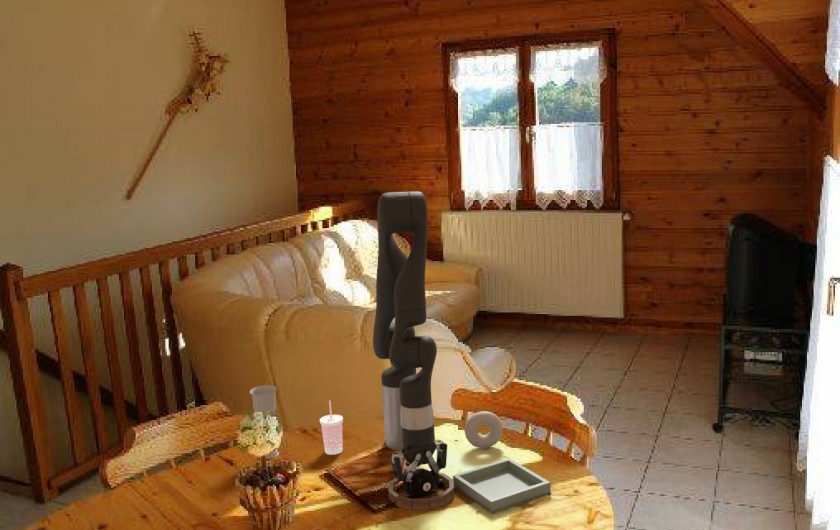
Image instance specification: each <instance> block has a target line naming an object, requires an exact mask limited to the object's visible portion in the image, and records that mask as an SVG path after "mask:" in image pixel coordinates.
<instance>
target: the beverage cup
mask: <svg viewBox="0 0 840 530" xmlns="http://www.w3.org/2000/svg"><path fill="white" fill-rule="evenodd" d="M328 406H329V414H328V415H324V416H322V417H321V418H319V424H320V425H321V433H322V434H321V435H322V439H323V446H324V452H325V454H327V455H330V456H331V455H333V456H334V455H338V454H340V453H342V452H343V449H344V448H343V446H344V445H343V421H344V417H343V415H340V414H332V413H333V412H332V402H331V400H328Z"/></svg>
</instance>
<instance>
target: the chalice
mask: <svg viewBox="0 0 840 530" xmlns="http://www.w3.org/2000/svg"><path fill="white" fill-rule="evenodd" d="M276 391H277V387H276V386H275V385H272V384H271V385H269V384H265V385H264V384H263V385H259V386H255V387H253V388H251V389H250V390H249V393H250V395H251V398H252V408H253V412H254V413H255V412H266V411H269V410H271V411H273V413H274V415H275V413H276V409H277V401H276ZM279 455H280V452H279V451H278V449H277V448H276V450H275V451H273V452H272V453H270V454H269V455H268V456H267V459H266V460H270V459H274V458H277V457H278V456H279Z"/></svg>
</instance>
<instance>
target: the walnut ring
mask: <svg viewBox="0 0 840 530" xmlns="http://www.w3.org/2000/svg"><path fill="white" fill-rule="evenodd" d="M439 479H442V480H443V481H444V484H445V486H444V487H446V488H447V489H446V490H445V491H443V493H441V494H437V495H434V496H432V497H427V498H426V497H424V498H410V497H407V496H403V495H402V496H401V495H399V493H397V492H396V491H393V488H394V486H395V485H396V484H398V483H399V482H400V481H399V480H398V479H397V478H395V477H394V478H393V479H392V480H391V481H389V482H388V489H387V491H388V494H387V495H388V497H389V496H390V497H391V498H392V499H393V500H394V501H395V502H396V505H397V506H396V505H395V506H396V507H398V508H401V509H405V510H410V511H423V510H426V511H427V510H433V509H436V508H439V507H442V506H445V505H448V503H450V502H451V501H452V500H453V499H454V498H455V487H454V480H453V477H450V476H449V475H447V474H446V473H443V472H439Z"/></svg>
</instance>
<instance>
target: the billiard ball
mask: <svg viewBox="0 0 840 530" xmlns="http://www.w3.org/2000/svg"><path fill="white" fill-rule="evenodd" d="M430 471H431V470H429V469H427V468H416V470H415V472H414V473H413V474H412V477H411V481H412V494H413V495H416V496H418V497H422V496H423V497H424V496H427V495H428V494H430V493H431V492H432V491H433V489H434V488H433V487H434V478H433V475H432V474H431V472H430Z"/></svg>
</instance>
